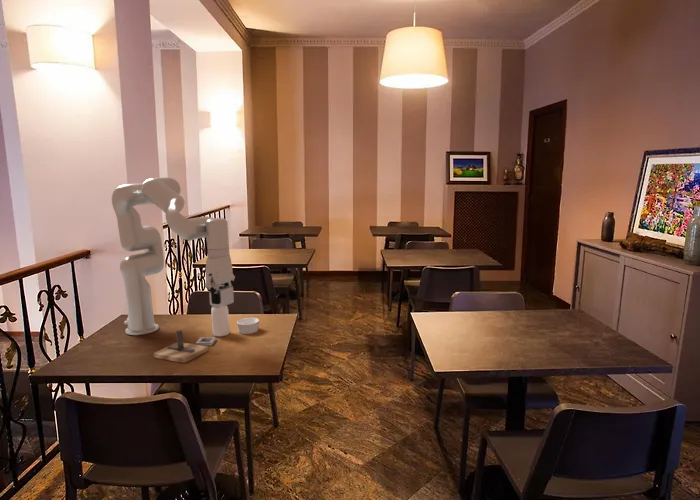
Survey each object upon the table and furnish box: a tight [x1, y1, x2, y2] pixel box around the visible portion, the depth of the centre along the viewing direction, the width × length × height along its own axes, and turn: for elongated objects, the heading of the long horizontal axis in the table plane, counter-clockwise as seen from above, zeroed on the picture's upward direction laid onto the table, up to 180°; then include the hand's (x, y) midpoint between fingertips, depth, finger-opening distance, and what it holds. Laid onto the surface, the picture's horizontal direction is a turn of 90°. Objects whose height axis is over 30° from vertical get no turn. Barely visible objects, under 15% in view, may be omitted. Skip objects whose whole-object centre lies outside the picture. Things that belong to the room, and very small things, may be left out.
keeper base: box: [152, 329, 209, 364], centre depth 169 cm, size 14×12×8 cm
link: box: [208, 284, 235, 307], centre depth 173 cm, size 6×6×6 cm
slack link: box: [195, 336, 217, 347], centre depth 180 cm, size 6×6×1 cm
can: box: [210, 305, 231, 338], centre depth 189 cm, size 6×6×12 cm
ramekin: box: [236, 317, 260, 335], centre depth 192 cm, size 9×9×4 cm
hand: (221, 300), depth 174 cm, fingers closed on link, 6 cm apart
